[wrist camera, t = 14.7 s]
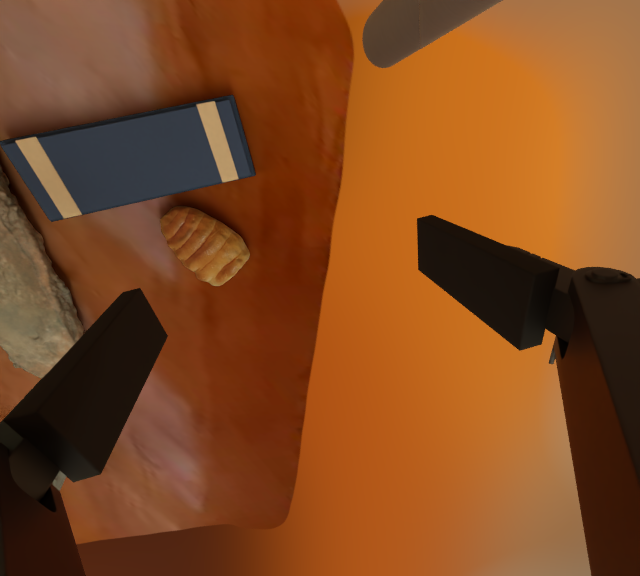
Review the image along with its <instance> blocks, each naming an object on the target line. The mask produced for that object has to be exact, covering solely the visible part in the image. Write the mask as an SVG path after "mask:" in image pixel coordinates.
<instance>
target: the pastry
mask: <svg viewBox="0 0 640 576" xmlns="http://www.w3.org/2000/svg"><path fill="white" fill-rule="evenodd" d="M160 223H161V232H162V233H163V235H164V236H165V238H166V240H167V244H168V246H169V247H170V248H172V250H173V251H174V253H175V255H176V257H177V258H178V259H180V260H181V261H182V264H183V266H185V267H186V268H188V269H189V270H191V271H193V272H195V274H196V277H197V279H199V280H201V281H206V282H209V283H210V284H211V285H213V286H220V285H222V284H224V283H225V282H226V281H228V280H229V279H230V278H232V277H233V276H234V275H235V274H236V273H237V271H238V270H239V269H240V268H241V267H242V266H243V265H244V263H245V262H246V261H247V260H248V259H249V256H250V252H249V250H248V248H247V246H246V245H245V243H244V241H243V239H242V237H241V236H240V235H238V234H237V233H236V232H234V231H233V230H232V229H230V228H229V227H227V226H226V225H225V224H223V223H222V222H220V221H218V220H216V219H214V218H212V217H211V216H209V215H207V214H205V213H203V212H201V211H200V210H197V209H195V208H191V207H186V206H175V207H173V208H172V209H170V210H169V211H168V212H167V213H166V214H165V215H164V216H163V217H162V218H161V220H160Z"/></svg>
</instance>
